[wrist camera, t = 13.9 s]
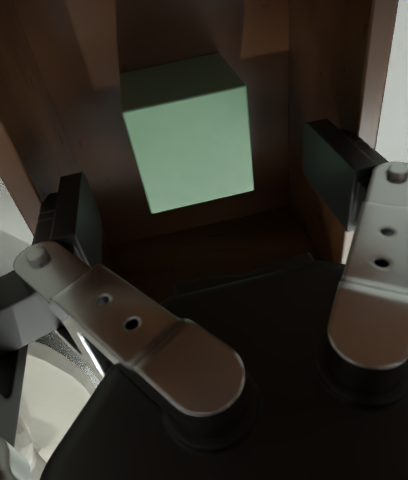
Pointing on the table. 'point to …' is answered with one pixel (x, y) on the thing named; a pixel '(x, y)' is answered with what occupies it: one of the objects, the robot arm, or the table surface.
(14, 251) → the table surface
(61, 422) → the sculpture
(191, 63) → the block
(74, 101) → the case
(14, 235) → the table surface
